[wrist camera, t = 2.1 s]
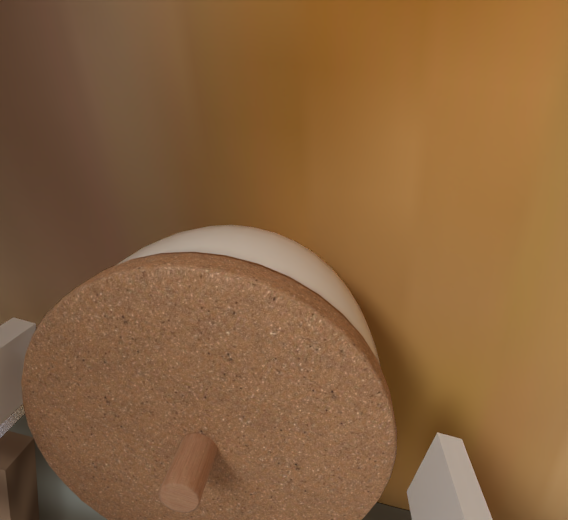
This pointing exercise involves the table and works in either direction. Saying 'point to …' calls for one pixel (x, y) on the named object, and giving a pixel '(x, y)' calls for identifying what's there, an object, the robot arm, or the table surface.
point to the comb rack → (56, 495)
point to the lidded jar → (213, 385)
